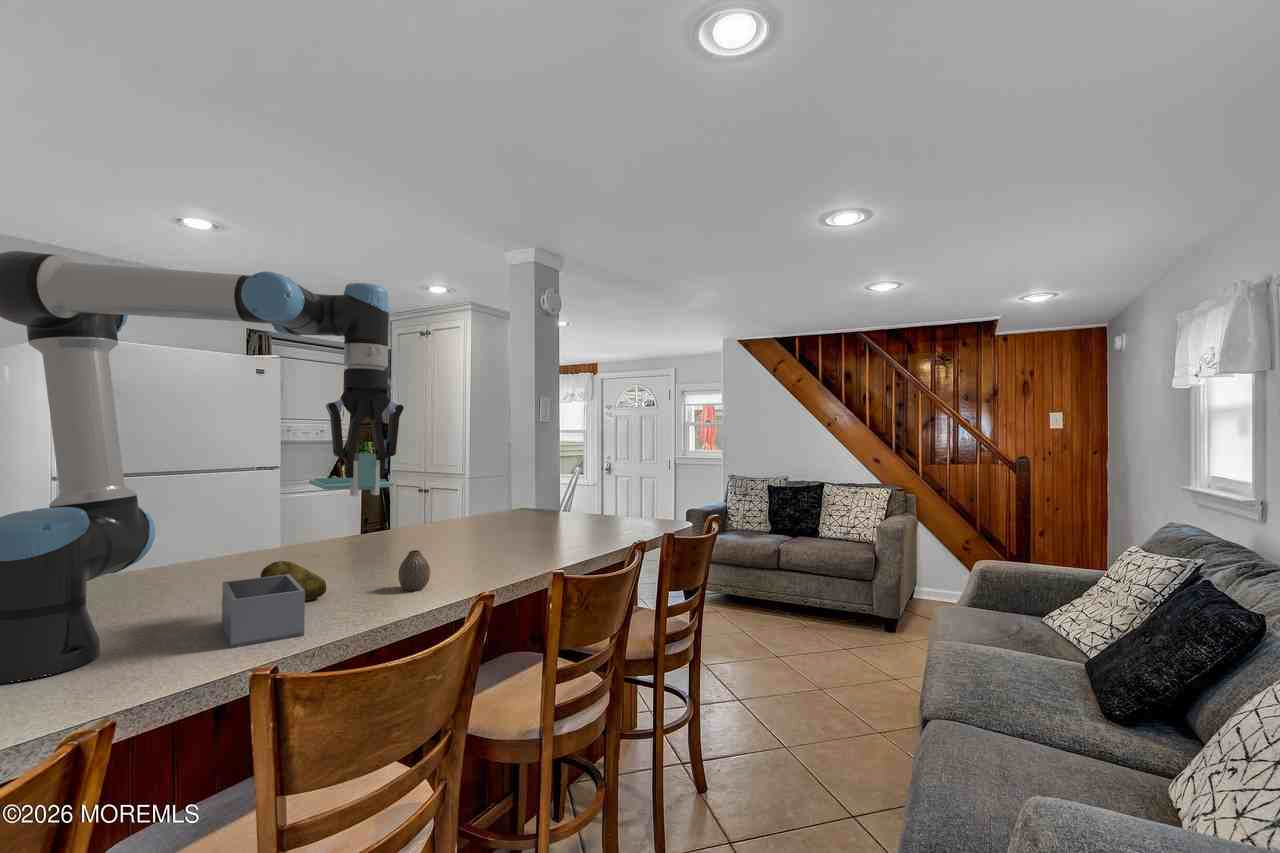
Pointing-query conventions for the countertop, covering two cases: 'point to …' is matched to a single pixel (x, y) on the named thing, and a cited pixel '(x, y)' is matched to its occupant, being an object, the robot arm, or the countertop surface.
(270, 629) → the tub
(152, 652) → the countertop surface
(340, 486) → the lid
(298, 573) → the potato
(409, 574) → the vase
